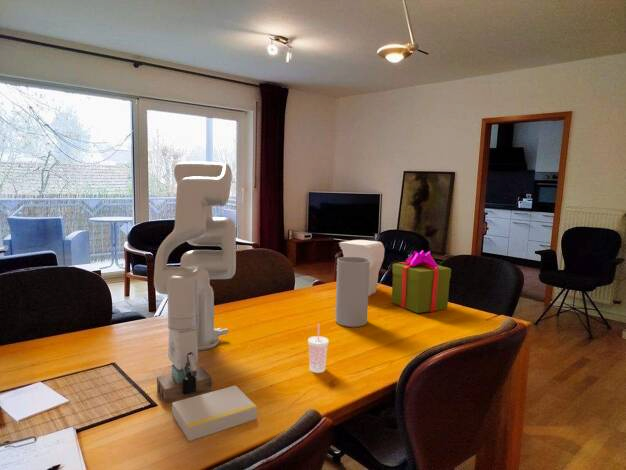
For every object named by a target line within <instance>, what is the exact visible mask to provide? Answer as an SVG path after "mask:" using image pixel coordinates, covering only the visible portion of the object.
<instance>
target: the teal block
mask: <svg viewBox="0 0 626 470" xmlns="http://www.w3.org/2000/svg"><path fill="white" fill-rule="evenodd" d="M187 366H189V364H186V365H185V367H187ZM186 372H187V373H188V372H190V369H186ZM171 374H172V377H173V378H174V379H175V381H176V382H177V383H182V382H183V379H184V374H183V369H181V370H178V369H177V368H176V367H175V366H174V365H173V364H171ZM196 379H197V371H196Z"/></svg>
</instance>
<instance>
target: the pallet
mask: <svg viewBox="0 0 626 470" xmlns="http://www.w3.org/2000/svg"><path fill="white" fill-rule="evenodd" d="M212 380H213V377H212V376H211V375H210V374H209V373H208V372H207V370H206V369H205V368H204V367H202V366H198V367H197V379H196V392H193V393H190V394H186V395H184V394H183V382H182V383H177V382H176V381H175V379H174V378H173V377H172V373H169V374H165V375H161V376H156V390H157V392H158V393H160V394H159V395H160V397H161V398H163V402H164V403H165V404H167V403H170V402H176V401H179V400H183V399H187V398H190V397H194V396H198V395H201V394H205V393H209V392H212V390H213V387H212V385H213V382H212Z"/></svg>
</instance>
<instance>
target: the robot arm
mask: <svg viewBox="0 0 626 470" xmlns="http://www.w3.org/2000/svg"><path fill="white" fill-rule="evenodd" d="M232 174H233V173H232V169H231V167H230V165H229V164H228V163H227V162H226V163H225V162H219V161H193V160H191V161H181V162H178V163H177V164H175V165H174V168H173V175H174V179H175V182H176V197H175V210H174V211H175V212H174V213H175V215H174V227H173V230H172V232H171V233H169V234H168V235H167V236H166V237H165V239H164V240H163V241H162V242H161V244H160V245H159V247H158V248H157V252H156V255H155V259H154V271H153V273H154V274H153V286H154V288H155V291H156V292H157V293H158V294H160V295H167V329H168V331H169V333H168V353H167V354H168V356H167V357H168V360H169V361H170V362H171V363H172V365H174V366H175V367H176V368H177V369H178V370H181V369H183V374H184V379H183V394H184V395H186V394H190V393H193V392H196V371H197V368H198V367H197V366H198V360H199V359H198V355H199V354H198V353H199V351H206V350H209V349H212V348H215V347H216V346H217V345H219V343H220V342H219V341H220V340H219V339H220V338H219V337H220V336H224V335H225V336H226V335H228V334H229V329H228V328H223V329H222V327H218V328H215V294H214V292H215V291H214V289H213V287H212V285H211V283H210V282H211V280H228V279H232V278H233V277H234V276H235V274H236V270H237V267H236V266H237V264H236V263H237V252H236V251H237V245H236V244H237V239H236V238H237V237H236V236H237V235H236V232H237V231H236V226H235V225H236V224H235V222H234V220H233V219H231V217H227V216H214V215H213V207H225V206H226V205H227V204H228V202H229V200H230V195H231V187H232V179H233V178H232V177H233V175H232ZM186 242H187V243H188V244H189V245H191V246H195V247H196V246H197V247H206V246H207V247H220V248H221V249H219V250H218V249H217V250H215V249H214V250H213V249H194V250H193V249H192V250H188V251H186V252H184V253H183V254H182V256H181V257H180V266H167V264H168V260H169V256H170V254H171V253H172V252H173V251H174V250H175V249H176V248H177V247H178V246H180V245H181V244H184V243H186ZM186 364H189V366H187V367H185V365H186ZM186 369H190V372H188V373H187V372H186Z"/></svg>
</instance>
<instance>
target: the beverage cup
mask: <svg viewBox="0 0 626 470" xmlns="http://www.w3.org/2000/svg"><path fill="white" fill-rule="evenodd" d="M329 342H330V341H329V338H328V337H324V336H320V322H319V323H317V336H310V337H308V339H307V344H308V353H309V354H308V357H309V360H308V361H309V371H310V372H312V373H316V374H317V373H318V374H319V373H323V372H325V371H326V362H327V352H328V345H329Z"/></svg>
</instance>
